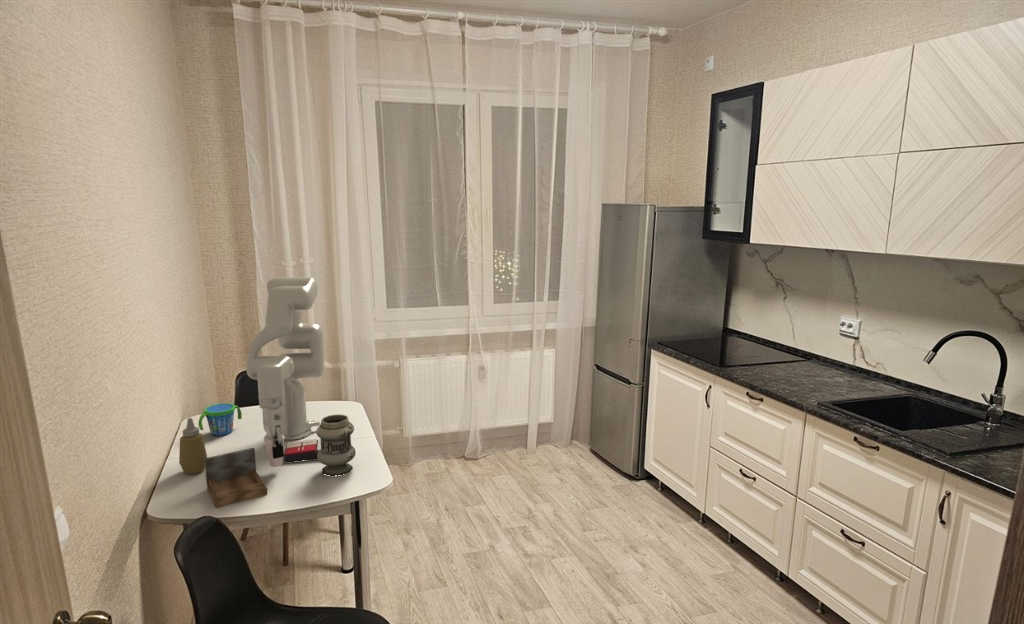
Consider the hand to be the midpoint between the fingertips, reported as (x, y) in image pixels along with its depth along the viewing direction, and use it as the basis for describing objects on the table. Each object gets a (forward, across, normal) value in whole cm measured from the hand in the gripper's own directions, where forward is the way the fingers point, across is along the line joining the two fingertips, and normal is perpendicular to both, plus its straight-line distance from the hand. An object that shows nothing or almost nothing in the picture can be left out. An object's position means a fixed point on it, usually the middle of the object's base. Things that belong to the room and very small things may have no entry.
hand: (275, 453), depth 188 cm
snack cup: (+8, +47, +7) cm, 48 cm away
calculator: (+8, +8, -13) cm, 17 cm away
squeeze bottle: (+7, +16, +21) cm, 28 cm away
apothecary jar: (+7, -10, -17) cm, 21 cm away
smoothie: (+4, 0, 0) cm, 4 cm away
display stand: (+6, -7, +13) cm, 16 cm away
